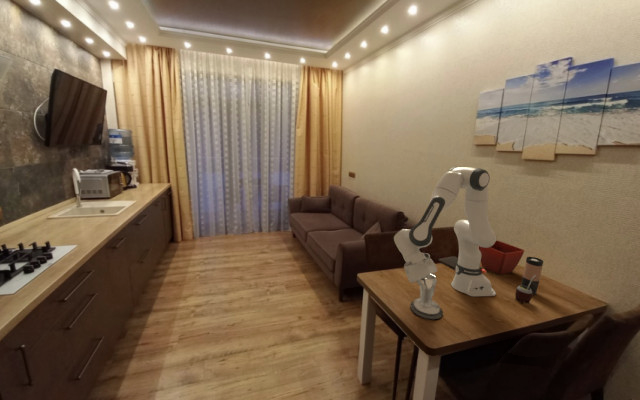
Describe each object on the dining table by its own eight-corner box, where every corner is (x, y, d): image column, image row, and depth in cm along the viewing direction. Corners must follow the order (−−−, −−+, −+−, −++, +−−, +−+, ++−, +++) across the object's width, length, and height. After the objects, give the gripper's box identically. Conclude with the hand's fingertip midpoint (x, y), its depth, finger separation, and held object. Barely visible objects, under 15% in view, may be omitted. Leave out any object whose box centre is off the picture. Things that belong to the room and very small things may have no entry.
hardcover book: (453, 259, 199) (454, 256, 198) (482, 272, 178) (483, 269, 177) (437, 261, 192) (438, 258, 192) (465, 276, 172) (466, 273, 171)
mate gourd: (514, 301, 144) (519, 276, 141) (514, 295, 150) (519, 270, 147) (531, 307, 139) (537, 280, 136) (530, 300, 146) (536, 274, 143)
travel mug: (537, 291, 155) (544, 259, 151) (535, 296, 150) (543, 263, 146) (520, 286, 160) (527, 255, 156) (518, 291, 155) (525, 259, 151)
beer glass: (434, 304, 132) (438, 276, 130) (429, 310, 127) (433, 281, 124) (420, 298, 137) (424, 271, 134) (415, 304, 132) (418, 276, 129)
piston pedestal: (436, 302, 139) (437, 297, 139) (447, 321, 125) (448, 315, 124) (406, 300, 140) (407, 295, 140) (414, 318, 126) (415, 312, 125)
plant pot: (500, 278, 170) (505, 253, 167) (473, 265, 188) (477, 242, 184) (520, 274, 177) (525, 250, 174) (493, 262, 194) (497, 240, 191)
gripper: (407, 262, 126) (423, 290, 121) (430, 253, 139) (446, 278, 133) (398, 267, 131) (413, 294, 125) (421, 258, 143) (436, 282, 138)
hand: (430, 286), depth 129 cm, fingers open, 8 cm apart
